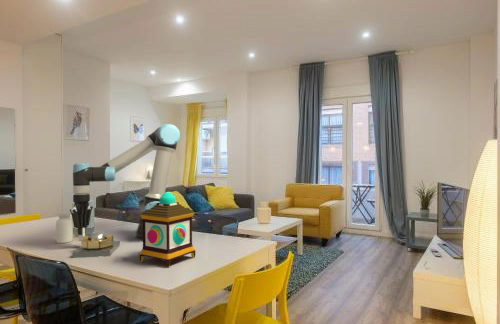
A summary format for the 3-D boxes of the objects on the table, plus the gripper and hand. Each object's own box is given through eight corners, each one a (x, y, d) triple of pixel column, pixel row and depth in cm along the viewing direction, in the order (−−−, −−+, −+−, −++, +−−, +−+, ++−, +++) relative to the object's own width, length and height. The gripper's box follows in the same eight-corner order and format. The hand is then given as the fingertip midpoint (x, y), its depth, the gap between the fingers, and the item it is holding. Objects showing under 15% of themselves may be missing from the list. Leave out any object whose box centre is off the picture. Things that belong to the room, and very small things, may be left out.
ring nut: (118, 244, 165) (118, 235, 165) (91, 249, 154) (91, 240, 154) (95, 238, 178) (95, 229, 178) (68, 243, 167) (68, 234, 167)
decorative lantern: (167, 251, 163) (167, 189, 163) (200, 257, 152) (199, 191, 152) (134, 262, 145) (134, 192, 145) (168, 269, 135) (167, 195, 135)
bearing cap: (119, 245, 175) (119, 229, 175) (109, 256, 155) (109, 237, 155) (87, 246, 172) (87, 230, 172) (72, 257, 152) (72, 239, 152)
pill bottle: (65, 243, 179) (65, 215, 179) (52, 243, 181) (52, 215, 181) (76, 240, 187) (75, 213, 187) (63, 239, 188) (63, 212, 188)
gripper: (85, 192, 176) (85, 237, 176) (65, 194, 164) (65, 243, 164) (97, 192, 174) (97, 238, 174) (77, 195, 162) (77, 244, 161)
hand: (81, 240), depth 169 cm, fingers closed
